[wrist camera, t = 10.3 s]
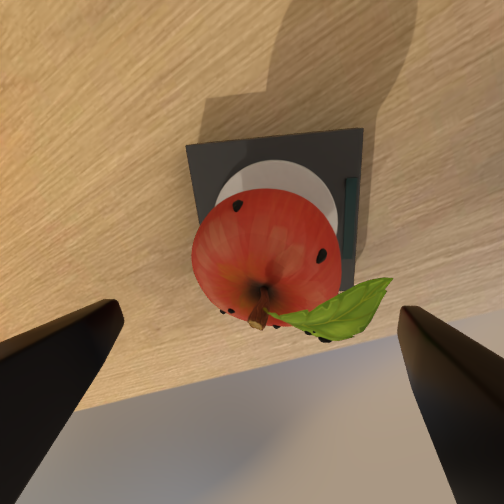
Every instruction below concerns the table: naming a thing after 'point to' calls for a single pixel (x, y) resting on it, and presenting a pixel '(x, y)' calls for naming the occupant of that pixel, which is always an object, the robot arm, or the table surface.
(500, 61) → the table surface
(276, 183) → the scale
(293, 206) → the spotted red fruit
